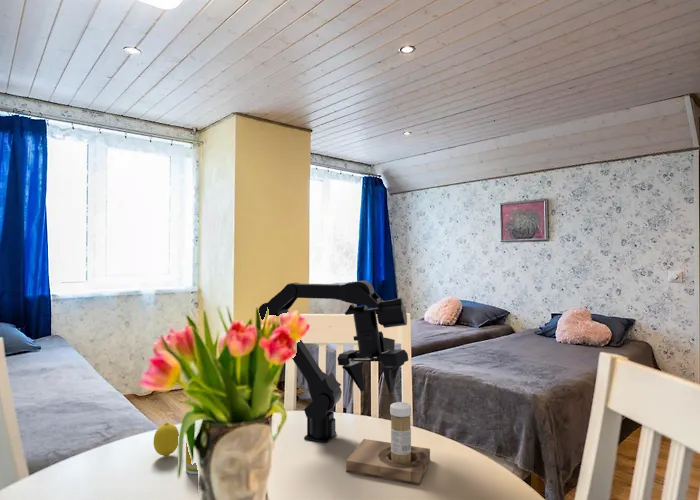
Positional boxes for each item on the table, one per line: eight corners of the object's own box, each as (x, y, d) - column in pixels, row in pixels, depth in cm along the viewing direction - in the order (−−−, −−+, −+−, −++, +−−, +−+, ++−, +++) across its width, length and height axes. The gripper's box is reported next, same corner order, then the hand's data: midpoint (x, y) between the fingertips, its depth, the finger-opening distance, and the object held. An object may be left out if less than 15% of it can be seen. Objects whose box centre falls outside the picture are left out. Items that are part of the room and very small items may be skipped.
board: (346, 471, 94) (346, 460, 94) (364, 449, 106) (364, 438, 106) (420, 485, 89) (420, 473, 89) (431, 459, 100) (430, 448, 100)
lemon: (148, 460, 100) (148, 425, 100) (164, 450, 105) (164, 417, 105) (168, 463, 98) (168, 428, 99) (184, 453, 104) (184, 419, 104)
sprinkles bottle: (407, 460, 99) (406, 400, 99) (414, 469, 94) (414, 407, 94) (387, 462, 98) (387, 402, 98) (394, 472, 93) (394, 409, 93)
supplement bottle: (203, 475, 93) (204, 430, 93) (180, 473, 94) (181, 428, 94) (216, 464, 98) (216, 420, 98) (194, 462, 99) (194, 419, 99)
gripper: (414, 322, 111) (425, 384, 110) (358, 325, 122) (367, 381, 121) (390, 331, 102) (400, 398, 101) (332, 333, 114) (341, 393, 113)
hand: (376, 391), depth 109 cm, fingers open, 9 cm apart
